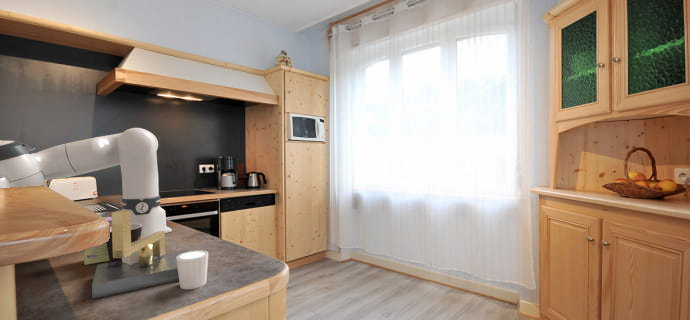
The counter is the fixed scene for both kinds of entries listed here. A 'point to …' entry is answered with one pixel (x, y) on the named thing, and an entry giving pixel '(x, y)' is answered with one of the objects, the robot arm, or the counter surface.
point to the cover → (131, 258)
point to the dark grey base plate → (134, 275)
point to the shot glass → (192, 269)
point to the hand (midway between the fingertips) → (86, 229)
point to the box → (97, 251)
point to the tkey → (143, 246)
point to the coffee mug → (135, 236)
